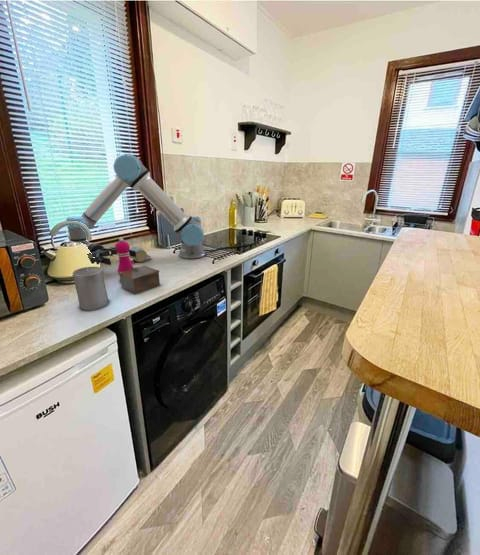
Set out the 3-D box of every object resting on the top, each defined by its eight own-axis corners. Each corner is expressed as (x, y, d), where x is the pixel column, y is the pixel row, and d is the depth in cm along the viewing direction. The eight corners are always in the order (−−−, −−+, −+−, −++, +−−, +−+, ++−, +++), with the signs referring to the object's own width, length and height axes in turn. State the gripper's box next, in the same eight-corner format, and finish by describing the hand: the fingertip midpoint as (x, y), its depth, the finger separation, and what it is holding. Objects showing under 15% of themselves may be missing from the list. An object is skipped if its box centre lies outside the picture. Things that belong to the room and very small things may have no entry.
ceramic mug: (135, 263, 148) (134, 250, 145) (129, 260, 154) (127, 247, 151) (153, 260, 155) (152, 247, 152) (147, 257, 161) (146, 244, 158)
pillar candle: (87, 299, 108) (79, 263, 102) (112, 298, 108) (106, 262, 103) (75, 311, 99) (65, 272, 93) (102, 310, 99) (95, 271, 94)
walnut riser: (146, 279, 128) (144, 265, 125) (160, 285, 121) (159, 270, 119) (121, 287, 119) (118, 272, 116) (135, 294, 112) (133, 278, 110)
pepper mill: (115, 282, 124) (108, 239, 117) (126, 276, 131) (120, 235, 123) (128, 284, 122) (121, 240, 115) (139, 278, 128) (133, 236, 121)
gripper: (116, 252, 144) (145, 258, 134) (69, 265, 124) (99, 274, 114) (114, 238, 141) (143, 243, 131) (65, 249, 121) (96, 256, 111)
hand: (123, 257), depth 123 cm, fingers open, 13 cm apart
